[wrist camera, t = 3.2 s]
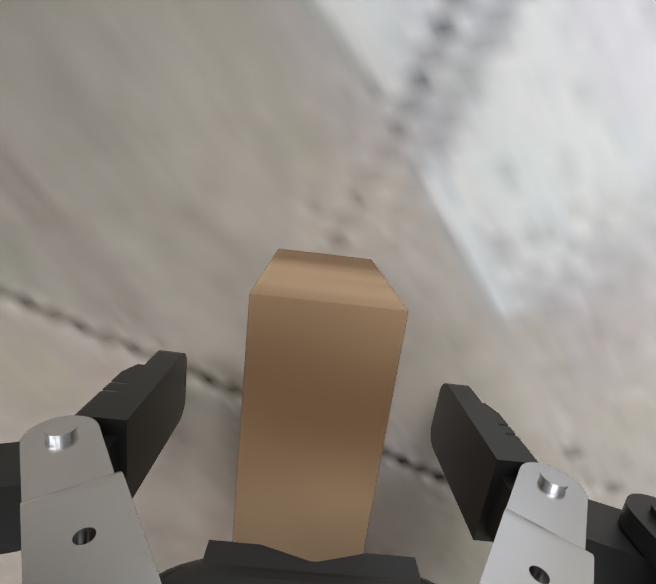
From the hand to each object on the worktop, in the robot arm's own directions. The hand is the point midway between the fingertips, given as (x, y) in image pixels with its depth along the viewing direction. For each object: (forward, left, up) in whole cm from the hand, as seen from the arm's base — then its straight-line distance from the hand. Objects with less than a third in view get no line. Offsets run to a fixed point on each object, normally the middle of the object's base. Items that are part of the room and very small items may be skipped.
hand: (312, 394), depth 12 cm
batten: (+5, 0, -2) cm, 6 cm away
